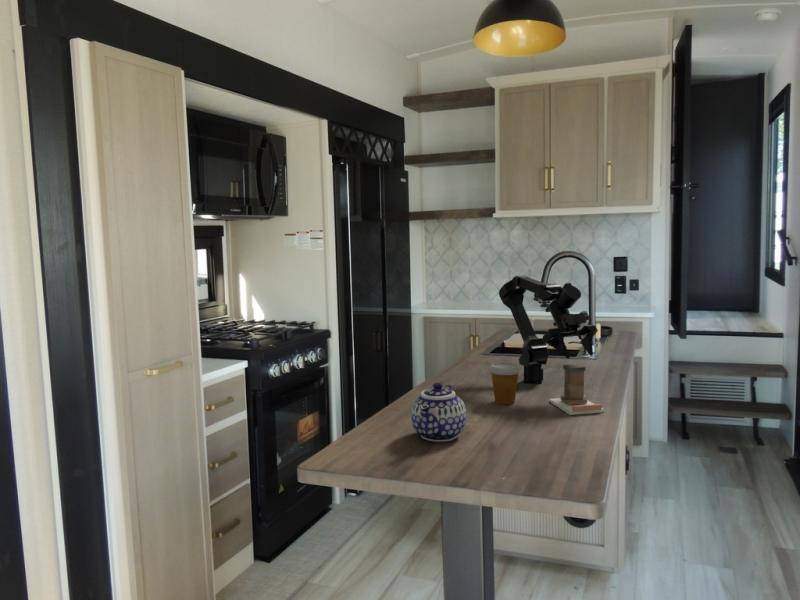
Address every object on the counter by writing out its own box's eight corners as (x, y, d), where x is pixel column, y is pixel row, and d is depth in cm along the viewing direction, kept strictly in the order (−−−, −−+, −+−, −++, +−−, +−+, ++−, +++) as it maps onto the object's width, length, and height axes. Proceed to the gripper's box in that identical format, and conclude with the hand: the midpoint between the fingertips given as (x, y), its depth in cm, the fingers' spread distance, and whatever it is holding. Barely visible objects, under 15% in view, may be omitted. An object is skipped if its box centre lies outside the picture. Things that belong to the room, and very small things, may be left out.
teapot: (430, 420, 197) (430, 371, 195) (479, 426, 190) (479, 375, 189) (394, 446, 174) (393, 390, 172) (448, 453, 168) (448, 396, 166)
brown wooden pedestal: (560, 399, 212) (561, 364, 211) (578, 398, 213) (578, 363, 212) (569, 404, 206) (569, 368, 205) (587, 403, 207) (587, 367, 206)
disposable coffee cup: (523, 399, 218) (523, 363, 216) (515, 407, 209) (515, 369, 208) (494, 397, 222) (494, 361, 220) (486, 404, 213) (486, 367, 212)
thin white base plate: (549, 401, 215) (549, 394, 214) (581, 399, 217) (581, 392, 216) (570, 415, 200) (570, 406, 199) (604, 412, 202) (604, 404, 202)
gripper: (550, 304, 214) (569, 346, 207) (596, 301, 222) (616, 341, 214) (534, 323, 223) (552, 364, 215) (579, 319, 230) (598, 358, 223)
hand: (580, 356), depth 217 cm, fingers open, 9 cm apart
